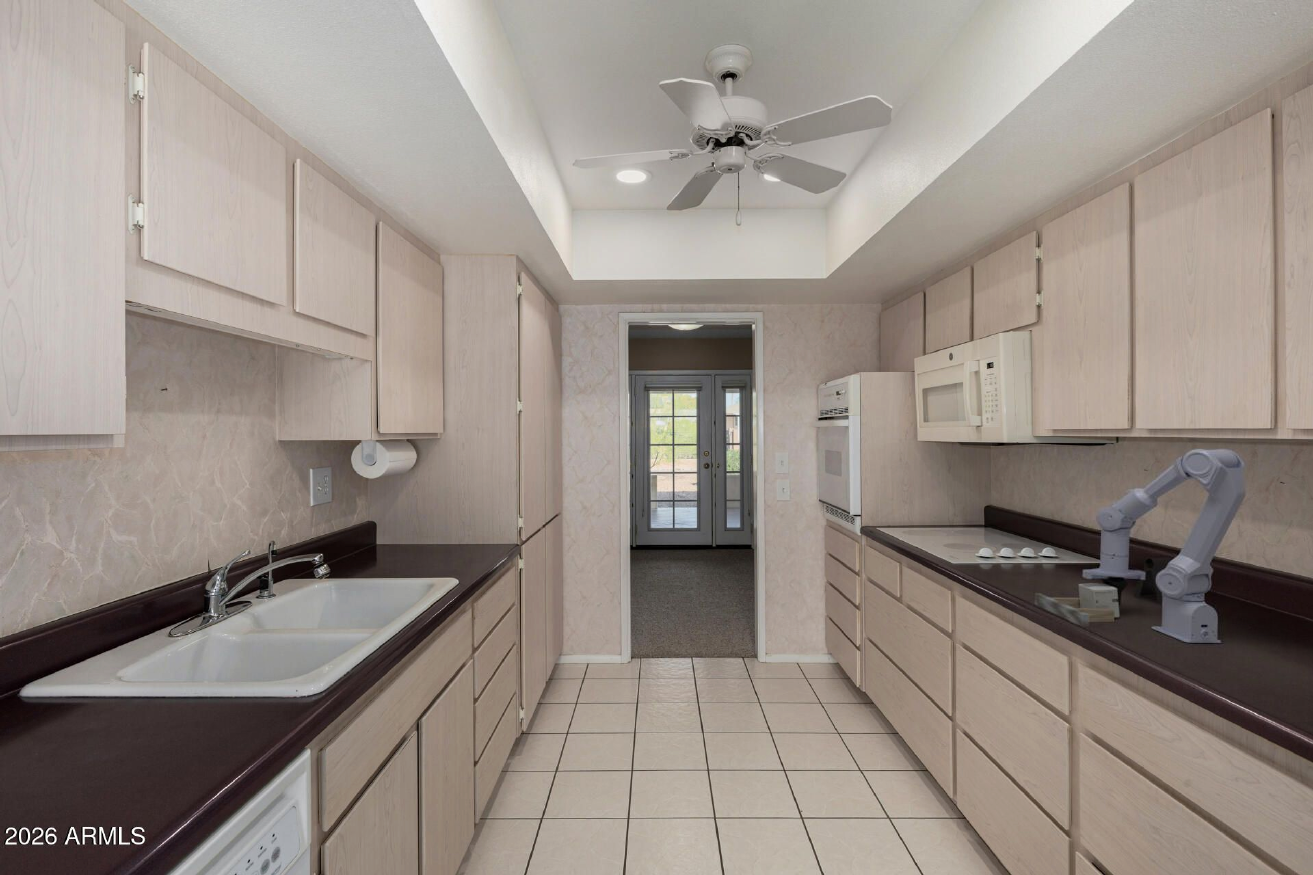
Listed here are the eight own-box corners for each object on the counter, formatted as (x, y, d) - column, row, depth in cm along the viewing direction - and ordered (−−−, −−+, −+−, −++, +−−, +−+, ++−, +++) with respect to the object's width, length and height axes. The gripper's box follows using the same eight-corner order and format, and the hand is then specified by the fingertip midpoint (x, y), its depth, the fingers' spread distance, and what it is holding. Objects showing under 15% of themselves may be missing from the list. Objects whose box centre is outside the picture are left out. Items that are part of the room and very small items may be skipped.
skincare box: (1094, 618, 147) (1092, 589, 147) (1080, 611, 153) (1077, 583, 153) (1120, 617, 146) (1118, 588, 146) (1104, 609, 152) (1102, 582, 152)
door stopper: (1183, 604, 159) (1184, 561, 159) (1164, 605, 158) (1165, 561, 158) (1150, 595, 168) (1151, 554, 168) (1132, 596, 167) (1133, 554, 167)
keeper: (1126, 627, 141) (1126, 614, 141) (1082, 626, 141) (1082, 614, 141) (1073, 604, 159) (1073, 593, 159) (1034, 604, 159) (1034, 593, 159)
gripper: (1130, 550, 153) (1129, 601, 154) (1075, 550, 154) (1073, 600, 154) (1152, 557, 146) (1151, 610, 147) (1094, 556, 147) (1092, 609, 147)
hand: (1112, 606), depth 150 cm, fingers closed, pressing on skincare box
